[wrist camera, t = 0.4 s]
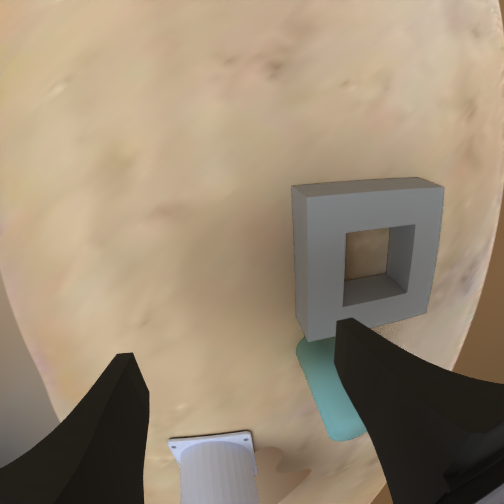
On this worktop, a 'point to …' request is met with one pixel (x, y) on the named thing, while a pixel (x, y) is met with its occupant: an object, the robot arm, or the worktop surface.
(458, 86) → the worktop surface
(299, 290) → the socket block
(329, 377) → the peg
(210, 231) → the worktop surface
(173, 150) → the worktop surface
